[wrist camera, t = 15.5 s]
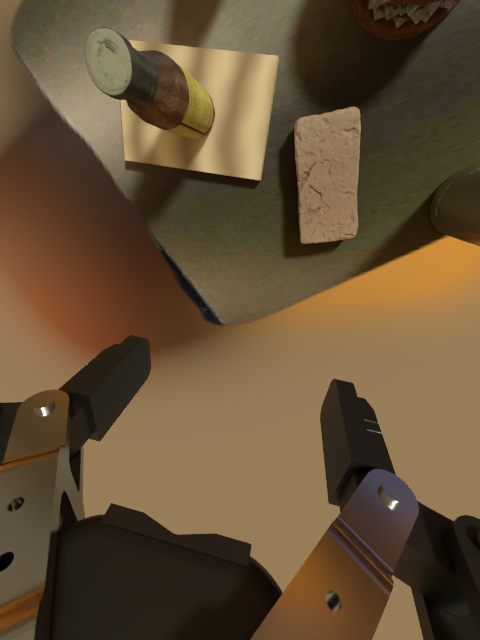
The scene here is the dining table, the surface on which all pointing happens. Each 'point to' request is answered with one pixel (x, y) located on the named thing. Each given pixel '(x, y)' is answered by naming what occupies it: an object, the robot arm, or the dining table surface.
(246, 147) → the serving board
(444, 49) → the dining table surface
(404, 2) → the brown lidded basket
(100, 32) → the sauce bottle
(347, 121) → the brick
